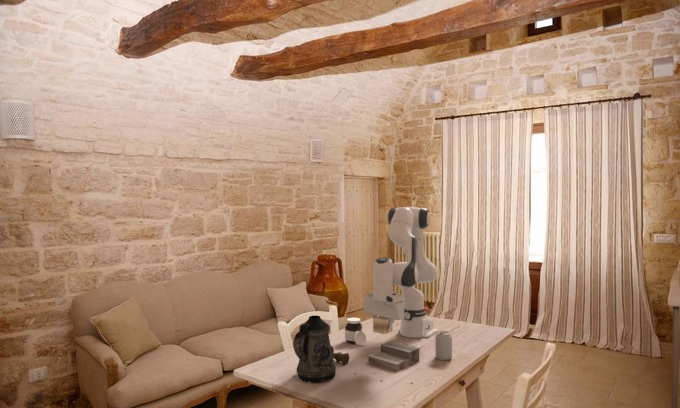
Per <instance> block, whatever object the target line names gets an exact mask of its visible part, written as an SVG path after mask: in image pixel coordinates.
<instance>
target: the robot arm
mask: <svg viewBox="0 0 680 408" xmlns="http://www.w3.org/2000/svg"><path fill="white" fill-rule="evenodd" d="M431 218H432V217H431V213H430V210H428V208H426V207H416V206H403V207H396V206H395V207H391V208H390V209H389V210H388V213H387V223H388V225H389V227H388V237H389V239H390V241H391V242H392V243H393V244H395V245H396V246H398V247H401V248H402V252H403V254H405V255H406V256H407V261H399V262H394V263H393V260H392V258H390V257H378V258H376V259H375V260H374V263H373V271H372V272H373V273H372V278H373V286H372V288H373V289H372V293H371V292H367V293H365V294H364V301H363V313H364V314H367V315H371V318H372V319H373V318H375V317H379V316H381V317H385V318H389V321H390V323H389V324H387V326H388V328H390V329H391V328H392V329H393V327H394V326H393V325H394V323H395V321H400V328H399V329H398V332H399V334H400V335H401V336H403V337H406V338H414V339H415V338H416V339H417V338H419V339H421V338H424V339H425V338H427V339H428V338H430V337H431V336H433V335H434V334H435V333H436V334H437V332H438V331H439V330H438V328H436V327H434V321H433V319H431V318H430V317H429V316H428V315H427V313H428V312H429V308H428V307H424V305H425V302H424V301H425V296H424V293H423V291H421V290H420V289H418V288H415V285H416V284H428V283H434V282H435V281H436V280H437V278H438V276H439V275H438V274H439V271H438V268H437V266H436V265H435V264H434V263H432V262H431V260H430V259H429V258H428V256H427V254H426V252H425V247H424V246H425V245H424V243H425V242H424V236H425V235H424V229H425V228H428V227H429V225H430V223H431ZM394 286H398V287H399V288H400V290H401V293H402V294H400V293H398V292H396V291H395V290H394Z"/></svg>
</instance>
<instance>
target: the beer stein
mask: <svg viewBox="0 0 680 408" xmlns="http://www.w3.org/2000/svg"><path fill="white" fill-rule="evenodd" d="M330 330H331V327H330V325H329V324H328V323H327V322H326V321H325V320H323V319H322V318H321V316H320V315H310V316H308V319H307V320H306V321H305V322H304V323H302V324H300V325H299V330H298V332H296V334H295V335H294V338H293V342H292V345H293V350H294V354H295V355H296V356H297V358H298V363H297V365H296V373H297V378H299V379H298V380H300V379H301V380H302V382H304V381H305V383H307V382H311V383H310V384H323V383H326V382H327V381H328V382H330V381H332V380H334V378H335V377H336V371H337V366H336V363H335V361H334V360H335V359H334V358H333V356H332V351H331V346H330V345H331V340H330V336H329V335H330V334H329V333H330ZM301 380H300V381H301ZM322 382H323V383H322Z"/></svg>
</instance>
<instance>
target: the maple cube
mask: <svg viewBox="0 0 680 408" xmlns="http://www.w3.org/2000/svg"><path fill="white" fill-rule="evenodd" d="M389 323H390V321H389V318H385V317H381V316H377V317H375V318H372V333H373V332H374V333H377V334H380V335H386V334H389V333H393V328H391V329H390V328H388V326H387V324H389Z"/></svg>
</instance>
